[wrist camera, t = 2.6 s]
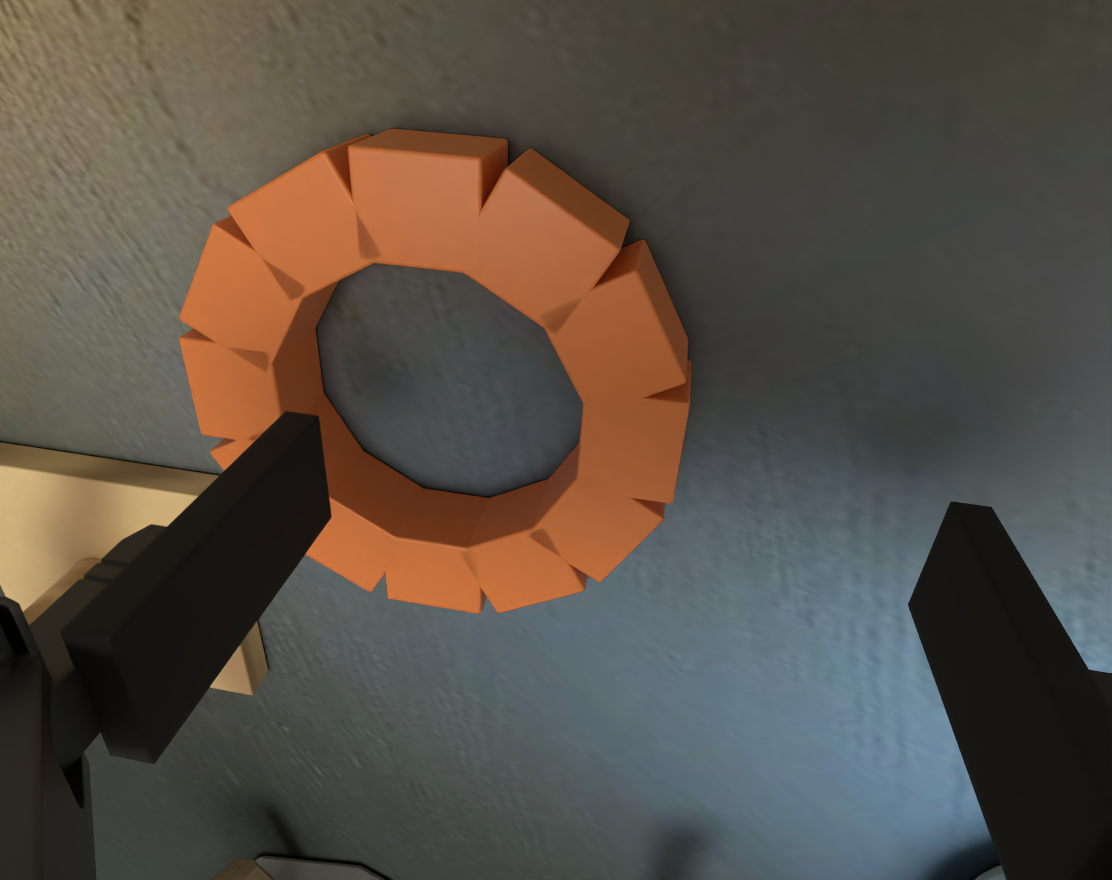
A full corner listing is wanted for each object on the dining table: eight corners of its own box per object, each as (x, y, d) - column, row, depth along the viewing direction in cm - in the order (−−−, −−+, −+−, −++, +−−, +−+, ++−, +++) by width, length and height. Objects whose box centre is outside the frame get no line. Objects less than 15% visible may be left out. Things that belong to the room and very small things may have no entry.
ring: (725, 157, 16) (729, 180, 14) (653, 584, 22) (648, 643, 20) (194, 110, 17) (127, 124, 15) (272, 524, 24) (232, 573, 22)
